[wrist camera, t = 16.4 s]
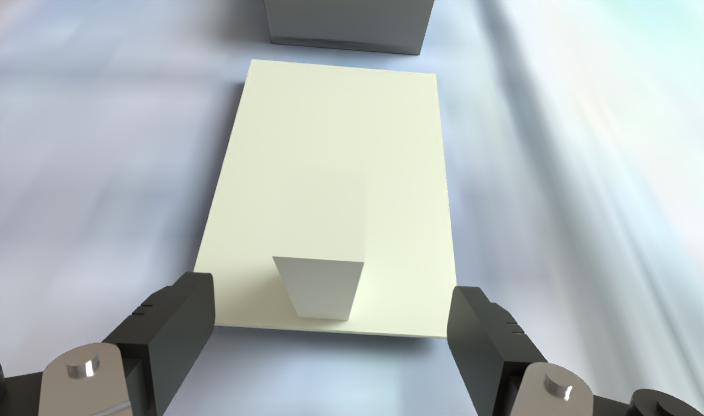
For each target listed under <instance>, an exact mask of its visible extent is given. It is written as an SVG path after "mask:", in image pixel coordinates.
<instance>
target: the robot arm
mask: <svg viewBox="0 0 704 416" xmlns="http://www.w3.org/2000/svg"><path fill="white" fill-rule="evenodd" d="M214 324H215V298H214V281H213V276H212V274H211V273H202V272H185V273H184V274H183V275H182V276H181V277H180V278H179V279H178V280H177V281H176V282H175V283H174V284H173V285H172V286H166V287H164V288H163V289H161V290H159V291H157V292H155V293H153V294H151V295H150V296H149V297H148V298H147V299H146V300H145V301H144V302H143V303H142V304H141V306H139V307H138V308H137V309H136V310H135V311H134V312H133V313H132V315H129V316H128V317H127V318H126V319H125V320H124V321H123V322H122V323H121V324H120V325H119V326H118V327H117V328H116V329H115V330H114V331H113V332H112V333H111V334H109V335H108V336H107V337H106V338H105V339H104V340H103V341H102V342H101V343H93V344H88V345H84V346H80V347H77V348H75V349H72V350H70V351H68V352H66V353H64V354H62V355H61V356H59V357H57V358H56V359H55V360H53V361H52V362H51V363H50V364H49V365H48V366H47V367H46V369H45V370H44V372H38V373H33V374H27V375H21V376H15V377H9V378H4V374H3V371H2V367H1V364H0V416H163V414H164V412H165V411H166V409H167V407H168V406H169V404H170V402H171V401H172V399H173V397H174V396H175V394H176V392H177V391H178V389H179V387H180V386H181V384H182V382H183V381H184V379H185V377H186V376H187V374H188V372H189V371H190V369H191V367H192V366H193V364H194V362H195V361H196V359H197V357H198V356H199V354H200V352H201V351H202V349H203V347H204V346H205V344H206V342H207V341H208V339H209V337H210V336H211V334H212V331H213V328H214ZM447 341H448V345H449V348H450V350H451V352H452V355H453V357H454V360H455V362H456V364H457V367H458V369H459V371H460V374H461V376H462V379H463V381H464V383H465V386H466V388H467V390H468V393H469V395H470V397H471V400H472V402H473V405H474V407H475V409H476V412H477V414H478V416H704V415H703V414H701V413H700V412H699V411H697V410H696V409H695V408H693V407H692V406H690V405H689V404H687V403H685V402H683V401H681V400H680V399H678V398H675V397H673V396H671V395H668V394H666V393H663V392H660V391H656V390H651V389H639V390H637V391H635V392H634V393H633V396H632V398H631V401H630V404H625V403H621V402H618V401H614V400H610V399H607V398H603V397H599V396H596V395H593V393H592V391H591V389H590V388H589V386H588V385H587V384H586V383H585V382H584V381H583V380H582V379H581V378H580V377H578V376H577V375H575V374H574V373H572V372H571V371H569V370H567V369H565V368H563V367H560V366H558V365H555V364H551V363H548V361H547V360H546V359H545V358H544V356H543V355H542V354H541V353H540V351H539V350H538V349H537V347H536V346H535V345H534V344H533V342H532V341H531V340H530V339H529V337H528V336H527V335H526V334H524V331H523V330H522V328H521V327H520V326H519V325H517V322H516V321H515V319H514V318H513V317H512V316H511V314H510V313H509V312H508V311H506V310H505V309H503V308H502V307H501V306H499V305H498V304H496V303H491V302H490V301H489V300H488V298H487V297H486V296H485V294H484V293H483V291H482V290H481V289H480V288H479V287H467V286H455V287H454V289H453V293H452V299H451V305H450V311H449V317H448V323H447Z"/></svg>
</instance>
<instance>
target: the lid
mask: <svg viewBox="0 0 704 416" xmlns="http://www.w3.org/2000/svg"><path fill="white" fill-rule="evenodd" d="M193 272H202V273H211V274H212V276H213V281H214V298H215V324H214V326H231V327H248V328H265V329H282V330H299V331H316V332H333V333H350V334H367V335H384V336H401V337H418V338H435V339H447V323H448V317H449V311H450V305H451V299H452V293H453V289H454V287H455V286H457V284H456V274H455V264H454V253H453V243H452V233H451V223H450V212H449V202H448V192H447V182H446V172H445V161H444V151H443V141H442V131H441V121H440V110H439V100H438V90H437V80H436V74H427V73H415V72H402V71H390V70H378V69H366V68H354V67H342V66H330V65H318V64H305V63H293V62H281V61H269V60H257V59H252V60H251V64H250V67H249V71H248V75H247V78H246V82H245V86H244V89H243V93H242V96H241V100H240V104H239V107H238V111H237V115H236V118H235V122H234V126H233V129H232V133H231V136H230V140H229V144H228V147H227V151H226V155H225V158H224V162H223V166H222V169H221V173H220V176H219V180H218V184H217V187H216V191H215V195H214V198H213V202H212V206H211V209H210V213H209V216H208V220H207V224H206V227H205V231H204V235H203V238H202V242H201V246H200V249H199V253H198V256H197V260H196V264H195V267H194V271H193Z"/></svg>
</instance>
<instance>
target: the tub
mask: <svg viewBox="0 0 704 416" xmlns="http://www.w3.org/2000/svg"><path fill="white" fill-rule="evenodd" d="M433 3H434V0H264V5H265V11H266V17H267V23H268V29H269V35H270V41H271V43H274V44H286V45H299V46H312V47H325V48H337V49H350V50H363V51H375V52H388V53H401V54H413V55H420V51H421V47H422V44H423V40H424V36H425V33H426V29H427V25H428V21H429V18H430V14H431V10H432V7H433Z"/></svg>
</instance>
